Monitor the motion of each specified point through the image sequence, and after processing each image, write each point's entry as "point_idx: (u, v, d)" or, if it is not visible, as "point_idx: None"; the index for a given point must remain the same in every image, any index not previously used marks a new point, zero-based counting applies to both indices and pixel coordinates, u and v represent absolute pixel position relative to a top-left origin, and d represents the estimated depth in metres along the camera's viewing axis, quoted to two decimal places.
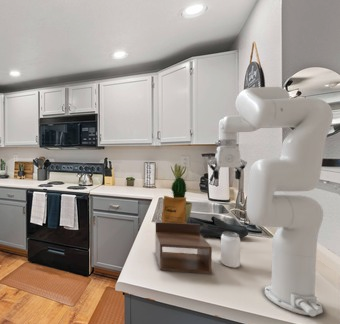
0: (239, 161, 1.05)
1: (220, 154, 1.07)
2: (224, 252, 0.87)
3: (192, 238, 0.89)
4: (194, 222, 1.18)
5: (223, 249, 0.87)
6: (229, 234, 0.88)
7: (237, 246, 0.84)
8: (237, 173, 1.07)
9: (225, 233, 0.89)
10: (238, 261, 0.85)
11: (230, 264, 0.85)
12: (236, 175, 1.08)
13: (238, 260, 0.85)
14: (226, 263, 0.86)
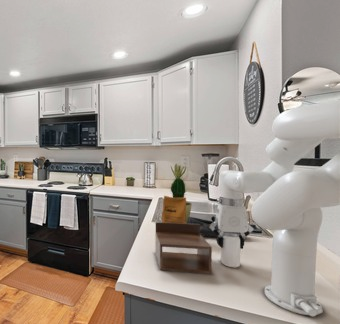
0: (246, 225, 0.84)
1: (222, 216, 0.85)
2: (224, 252, 0.87)
3: (192, 238, 0.89)
4: (194, 222, 1.18)
5: (223, 249, 0.87)
6: (229, 234, 0.88)
7: (237, 246, 0.84)
8: (240, 240, 0.86)
9: (225, 233, 0.89)
10: (238, 261, 0.85)
11: (230, 264, 0.85)
12: None
13: (238, 260, 0.85)
14: (226, 263, 0.86)
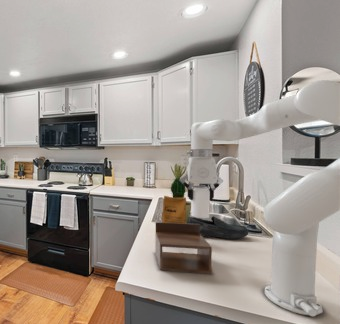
0: (215, 176, 0.84)
1: (192, 168, 0.85)
2: (194, 204, 0.87)
3: (192, 238, 0.89)
4: (194, 222, 1.18)
5: (193, 201, 0.87)
6: (199, 187, 0.88)
7: (205, 197, 0.85)
8: None
9: (196, 187, 0.89)
10: (207, 212, 0.85)
11: (199, 215, 0.85)
12: None
13: (206, 211, 0.85)
14: (196, 215, 0.86)
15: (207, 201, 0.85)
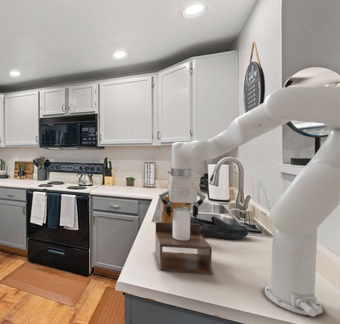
0: (195, 195, 0.85)
1: (172, 187, 0.86)
2: (175, 226, 0.87)
3: (192, 238, 0.89)
4: (194, 222, 1.18)
5: (174, 223, 0.88)
6: (180, 209, 0.89)
7: (186, 219, 0.85)
8: (194, 209, 0.87)
9: (177, 208, 0.90)
10: (187, 235, 0.86)
11: (180, 237, 0.86)
12: (193, 212, 0.88)
13: (187, 233, 0.86)
14: (176, 237, 0.87)
15: (187, 223, 0.86)
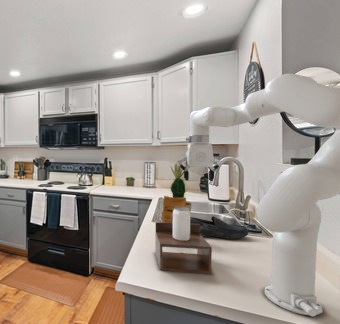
0: (212, 160, 0.92)
1: (190, 152, 0.93)
2: (175, 226, 0.87)
3: (192, 238, 0.89)
4: (194, 222, 1.18)
5: (174, 223, 0.88)
6: (180, 209, 0.89)
7: (186, 219, 0.85)
8: (210, 174, 0.94)
9: (177, 208, 0.90)
10: (187, 235, 0.86)
11: (180, 237, 0.86)
12: (209, 176, 0.95)
13: (187, 233, 0.86)
14: (176, 237, 0.87)
15: (187, 223, 0.86)
